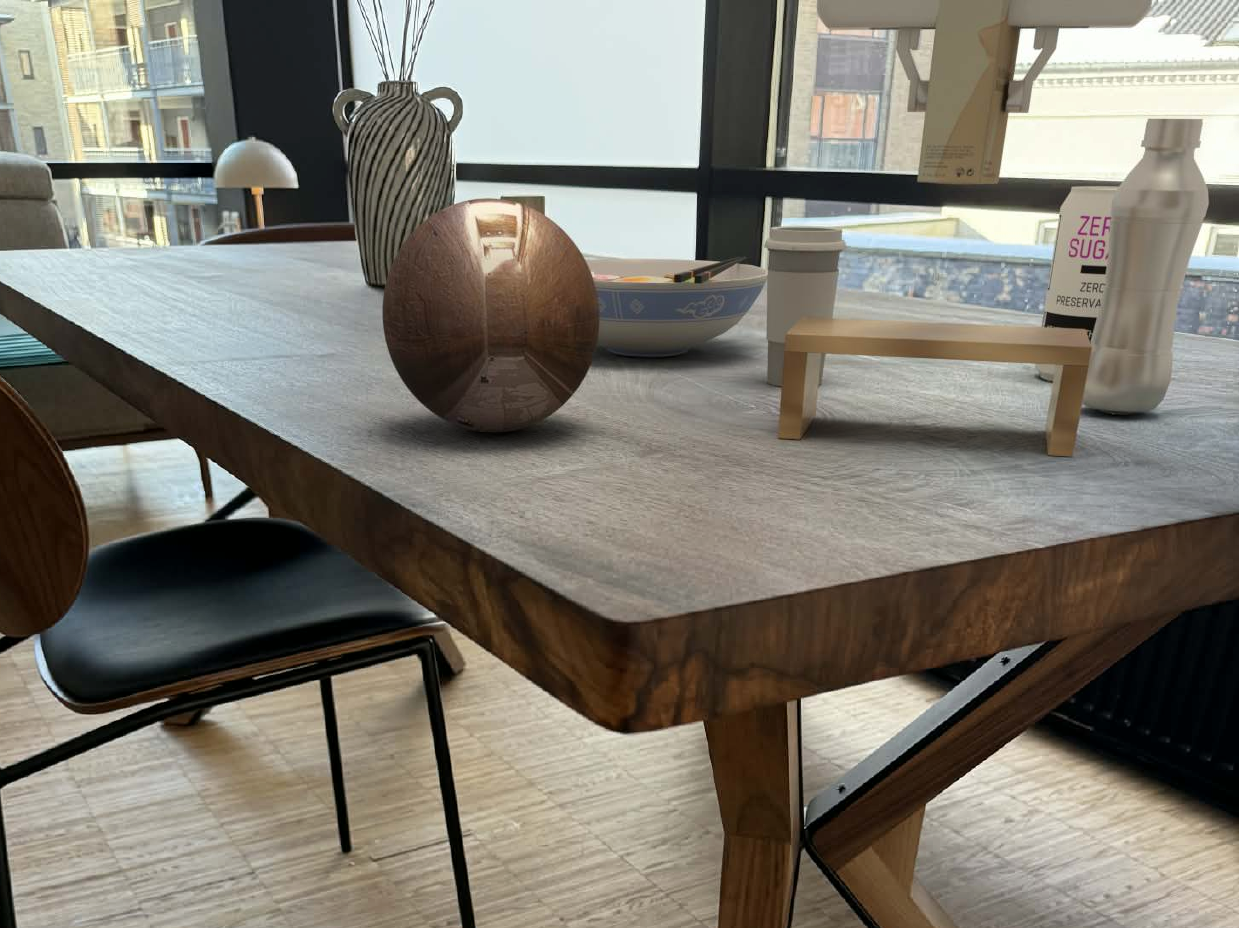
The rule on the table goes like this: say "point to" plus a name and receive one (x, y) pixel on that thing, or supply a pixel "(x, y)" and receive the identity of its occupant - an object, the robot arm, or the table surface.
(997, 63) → the box
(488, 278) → the copper ball
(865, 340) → the shelf
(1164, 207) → the plastic bottle
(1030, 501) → the table surface
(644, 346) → the ramen bowl
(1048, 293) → the supplement can
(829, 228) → the cup
